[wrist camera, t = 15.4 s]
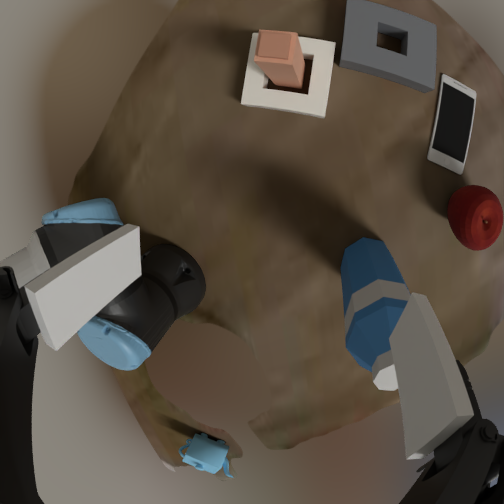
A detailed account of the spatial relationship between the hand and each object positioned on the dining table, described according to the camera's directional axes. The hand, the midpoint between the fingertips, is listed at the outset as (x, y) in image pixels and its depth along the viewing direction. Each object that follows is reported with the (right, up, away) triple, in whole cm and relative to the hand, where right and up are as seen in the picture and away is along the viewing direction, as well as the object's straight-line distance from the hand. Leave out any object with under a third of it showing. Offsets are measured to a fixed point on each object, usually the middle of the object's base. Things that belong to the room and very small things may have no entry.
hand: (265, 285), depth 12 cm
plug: (+5, +28, +22) cm, 36 cm away
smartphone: (+31, +22, +18) cm, 42 cm away
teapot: (-14, -70, +71) cm, 101 cm away
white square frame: (+5, +28, +22) cm, 36 cm away
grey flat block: (+20, +33, +16) cm, 41 cm away
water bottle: (+19, 0, +31) cm, 36 cm away
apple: (+34, +9, +23) cm, 42 cm away
